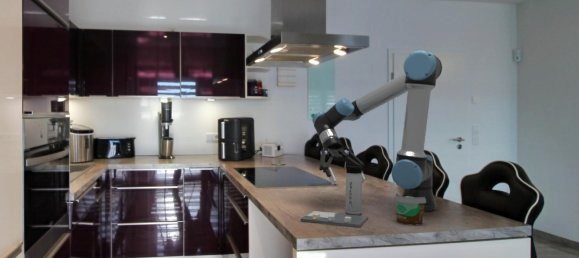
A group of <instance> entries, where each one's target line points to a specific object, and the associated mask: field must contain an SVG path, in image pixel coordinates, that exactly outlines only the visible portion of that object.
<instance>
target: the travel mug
mask: <svg viewBox="0 0 579 258" xmlns="http://www.w3.org/2000/svg"><path fill="white" fill-rule="evenodd" d="M345 168H346V169H345V214H347V215H357V216H363V215H362V214H363V213H362V209H363V208H362V202H363V198H362V197H363V193H362V192H363V183H362V170H363V167H362V166H360V165H356V164H352V163H351V164H348V163H347V164H346V166H345Z"/></svg>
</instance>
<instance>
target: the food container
mask: <svg viewBox="0 0 579 258" xmlns="http://www.w3.org/2000/svg"><path fill="white" fill-rule="evenodd" d="M393 200H394V201H395V207H396V209H395V211H396V219H397V220H396V221H397V222H398V223H399V224H402V223H403V224H402V225H408V224H412V225H411V226H417V225H416V224H420V225H422V224H423V219H424V218H423V217H424V204H425V203H426V199H425V197H419V198H415V197H412V196H402V195H399V193H398V192H395V194H394V197H393Z"/></svg>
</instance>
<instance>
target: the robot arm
mask: <svg viewBox="0 0 579 258" xmlns="http://www.w3.org/2000/svg"><path fill="white" fill-rule="evenodd" d="M442 71H443V64H442V61H441V60H440V58H439V57H438V56H436V55H434V54H433V53H432V52H430V51H428V50H422V49H420V50H419V49H418V50H415V51H412V52H411V53H410V54H408V55H407V56H406V58H405V59H404V62H403V72H404V73H402V74H400V75H399V76H397V77H395V78H393V79H391V80H390V81H388V82H386V83H384V84H382V85H381V86H379V87H377V88H375V89H373V90H371V91H370V92H367V93H366V94H365V95H362V96H360V97H359V98H357V99H356V100H354V101H352V102H351V101H350V100H349V99H347V98H346V97H342V98H341V99H339V100H338V101H336V103H335V104H334V105H333V106H331V107H330V108H329V109H328V110H327V111H319V112H318V113H315V114H314V115H313V116H312V119H311V121H312V123H313V128H314V129H315V130H316V134H317V135H318V138H319V140H320V142H321V145H322V147H323V148H321V150H320V152H319V156H320V159H319V161H320V162H319V167H318V170H319V171H322V172H323V173H324V174H325V175H326V177H327V178H329V180H330V183H331V186H334V185H335V184H336V182H337V180H336V177H335V175H334V172H333V170H332V167H330V165H331V163H332V161H342V162H345V163H347V165H348V164H351V163H352V164H356V165H360V166H362V168H364V166H365V162H363V161H362V160H361V159H359V158H358V157H357V156H356V155H355V154H354V153H353V151H352V150H351V149H350V148H347V149H345V150H344V148H343V144H342V143H341V141H340V139H339V136H338V134H337V132H336V129H335V128H336V127H337V126H338V125H339V124H340V123H342V122H343V121H350V122H353V121H357V120H359V119H360V118H361V117H362V116H364V115H365V114H367V113H369V112H371V111H374V110H375V109H377V108H378V107H380V106H383V105H384V104H386V103H388V102H390V101H392V100H394V99H396V98H398V97H400V96H401V95H403V94H405V93H407V96H406V104H405V114H404V122H403V129H402V130H403V131H402V132H403V133H402V141H401V147H400V149H399V150H398V151H396V157H395V163H394V164H393V167H392V169H391V178H392V181H394V183H395V185H396V186H398V187H399V188H402V189H403V191H402V194H401V196H412V197H415V198H419V197H425V199H426V203H425V204H424V211H427V212H434V211H437V202H436V198H435V197H434V192H433V172H434V171H433V169H434V168H433V164H434V160H433V156H432V155H430V154H426V153H425V144H426V143H425V142H426V136H427V135H426V134H427V125H428V118H429V108H430V100H431V92H432V90H434V89H435V88H436V85H437V79H439V77H440V76H441V74H442ZM326 156H327V157H329V158H328V161H327V162H325V161H326ZM325 163H326V164H325ZM365 181H366V177H365V173H364V170H363V169H362V184H364V182H365ZM433 210H434V211H433Z"/></svg>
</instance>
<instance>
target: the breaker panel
mask: <svg viewBox="0 0 579 258" xmlns="http://www.w3.org/2000/svg"><path fill="white" fill-rule="evenodd" d="M368 220H369V216H366V215H361V216H357V215H347V214H346V213H337V212H328V211H318V210H317V211H316V210H313V211H311V212H310V213H307V214H306V215H305V216H303V217H301V218H300V222H302V223H303V222H304V223H313V224H319V225H320V224H322V225H330V226H331V225H332V226H339V227H340V226H341V227H348V228H361V227H362V226H363V225H364V224H365V223H366V222H367V221H368Z"/></svg>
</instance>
